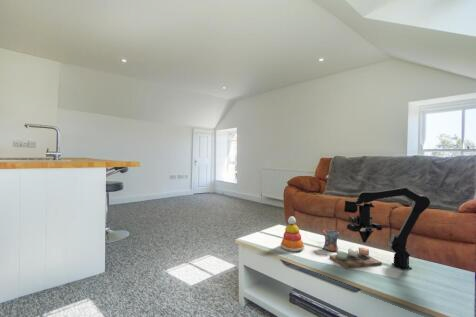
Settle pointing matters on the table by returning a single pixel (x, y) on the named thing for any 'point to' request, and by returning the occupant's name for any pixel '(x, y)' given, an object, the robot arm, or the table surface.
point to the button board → (356, 261)
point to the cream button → (352, 252)
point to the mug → (331, 240)
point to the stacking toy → (292, 237)
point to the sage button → (342, 255)
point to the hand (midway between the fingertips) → (364, 242)
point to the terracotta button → (363, 251)
